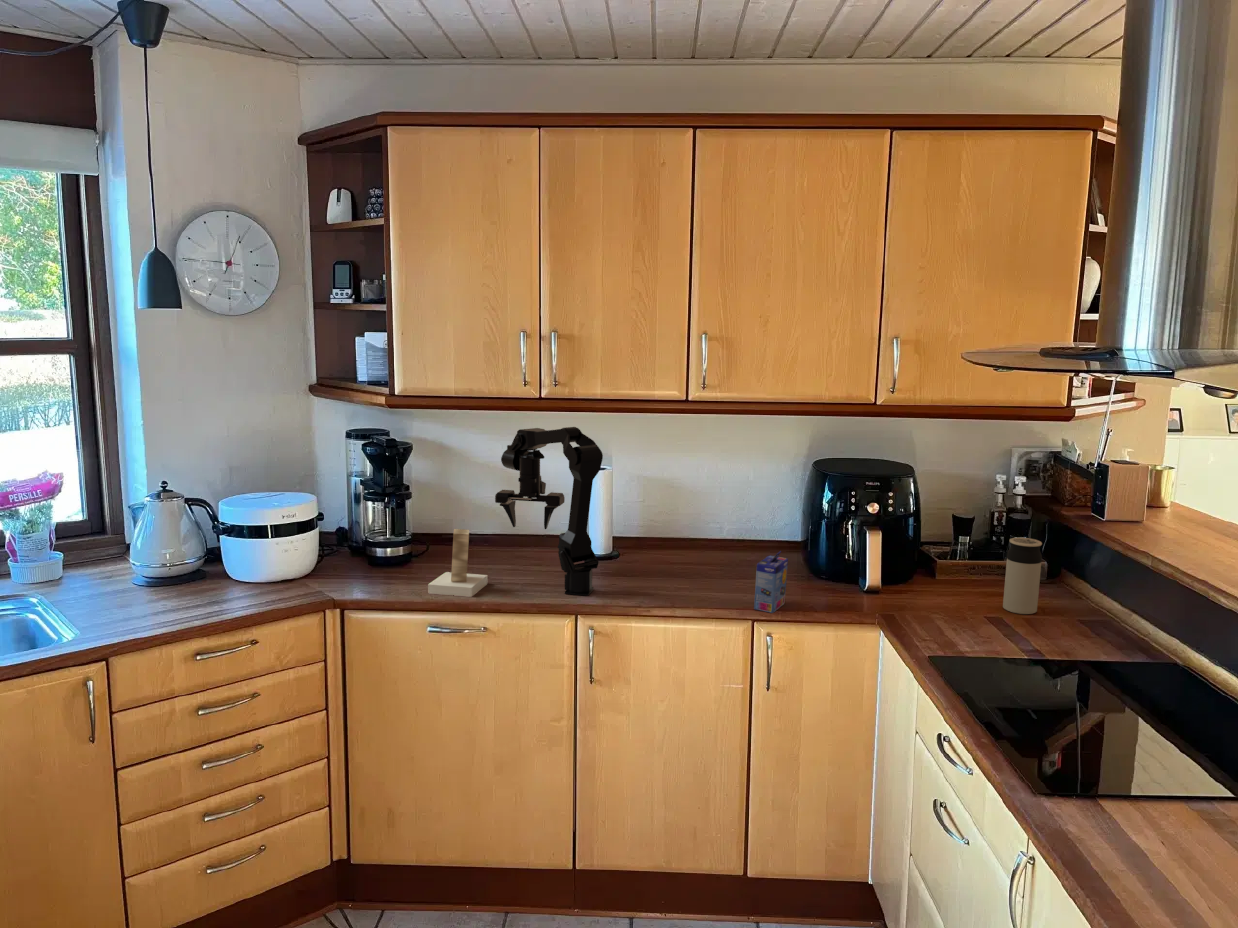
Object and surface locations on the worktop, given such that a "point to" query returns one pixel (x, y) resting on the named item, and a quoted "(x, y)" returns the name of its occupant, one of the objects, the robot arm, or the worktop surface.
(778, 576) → the ink cartridge box
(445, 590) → the cream square slab
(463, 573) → the birch block
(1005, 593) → the travel mug
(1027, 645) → the worktop surface
